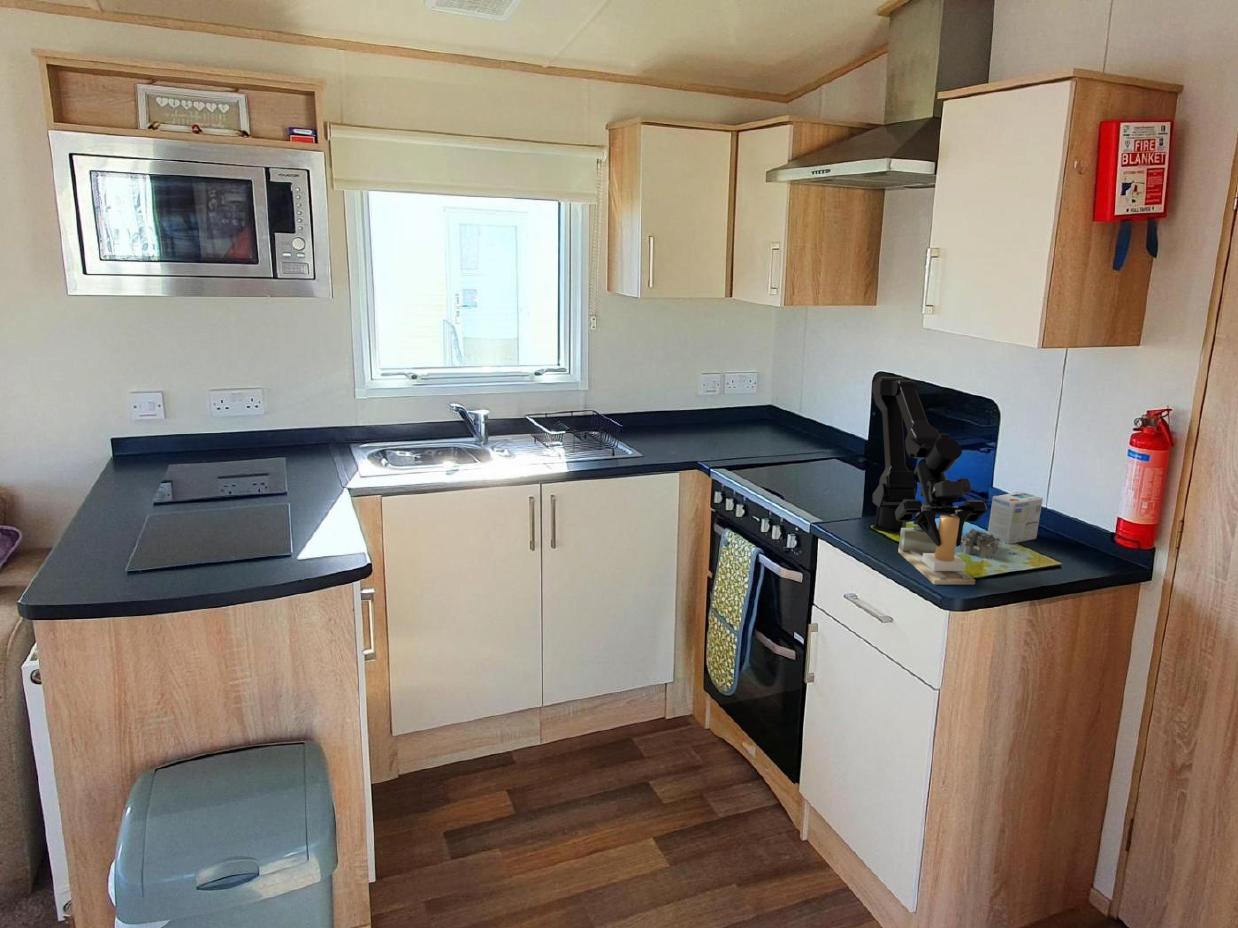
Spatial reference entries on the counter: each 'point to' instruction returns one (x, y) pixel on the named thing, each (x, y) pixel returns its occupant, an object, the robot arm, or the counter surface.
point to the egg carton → (979, 543)
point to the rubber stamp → (946, 547)
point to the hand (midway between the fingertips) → (949, 545)
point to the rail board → (913, 549)
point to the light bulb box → (1015, 517)
